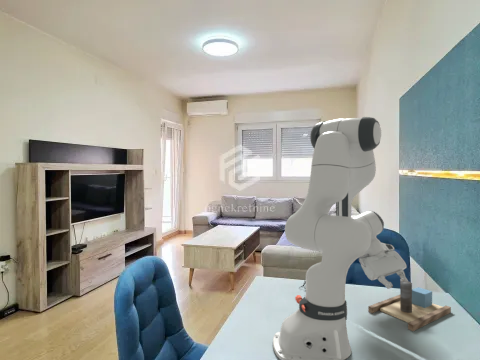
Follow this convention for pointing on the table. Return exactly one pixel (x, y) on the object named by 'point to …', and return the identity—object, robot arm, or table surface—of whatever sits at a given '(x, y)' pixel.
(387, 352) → the table surface
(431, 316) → the track
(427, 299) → the cube
